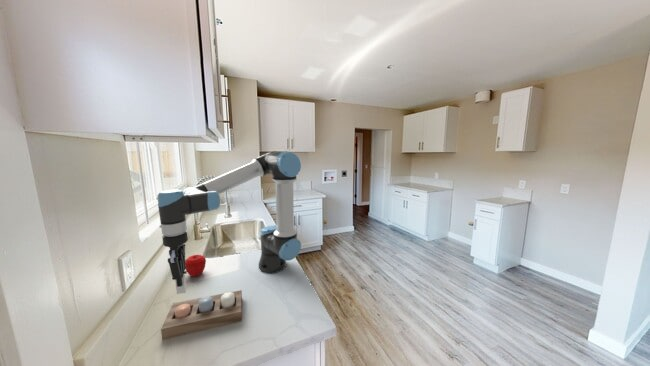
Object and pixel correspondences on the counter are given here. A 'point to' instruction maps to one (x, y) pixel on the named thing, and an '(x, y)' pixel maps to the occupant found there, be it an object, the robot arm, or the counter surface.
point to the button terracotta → (182, 311)
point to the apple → (195, 265)
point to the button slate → (205, 304)
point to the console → (201, 316)
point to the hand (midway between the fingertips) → (181, 292)
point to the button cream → (227, 300)
